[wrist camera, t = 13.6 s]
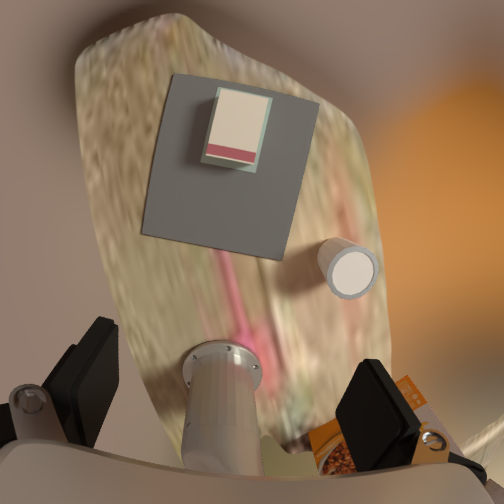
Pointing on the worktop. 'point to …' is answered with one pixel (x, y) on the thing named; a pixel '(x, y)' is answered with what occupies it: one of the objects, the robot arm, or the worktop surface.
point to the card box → (237, 126)
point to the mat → (227, 172)
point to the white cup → (347, 267)
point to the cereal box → (335, 448)
